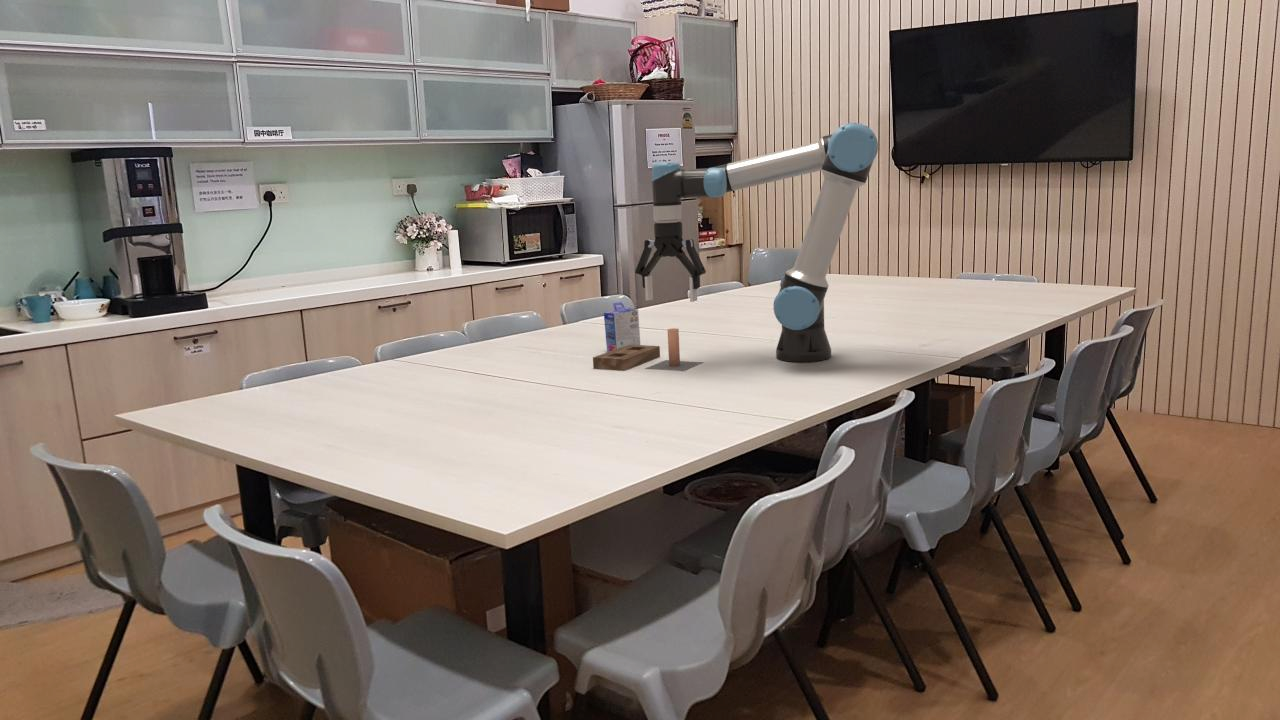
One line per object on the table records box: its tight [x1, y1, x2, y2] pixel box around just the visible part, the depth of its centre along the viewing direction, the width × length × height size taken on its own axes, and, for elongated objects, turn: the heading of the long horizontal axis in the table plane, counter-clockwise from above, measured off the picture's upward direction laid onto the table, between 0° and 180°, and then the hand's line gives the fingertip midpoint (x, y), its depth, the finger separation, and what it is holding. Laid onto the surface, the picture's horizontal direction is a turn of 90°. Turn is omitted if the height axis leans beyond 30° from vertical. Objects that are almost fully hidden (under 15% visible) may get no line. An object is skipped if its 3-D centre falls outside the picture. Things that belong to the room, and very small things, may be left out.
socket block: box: [592, 344, 661, 372], centre depth 279 cm, size 10×20×4 cm, turn 150°
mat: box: [644, 359, 704, 372], centre depth 272 cm, size 12×12×1 cm
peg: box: [667, 328, 681, 367], centre depth 271 cm, size 3×3×10 cm
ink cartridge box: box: [603, 301, 641, 353], centre depth 300 cm, size 10×6×14 cm, turn 132°
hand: (671, 300), depth 269 cm, fingers open, 13 cm apart
